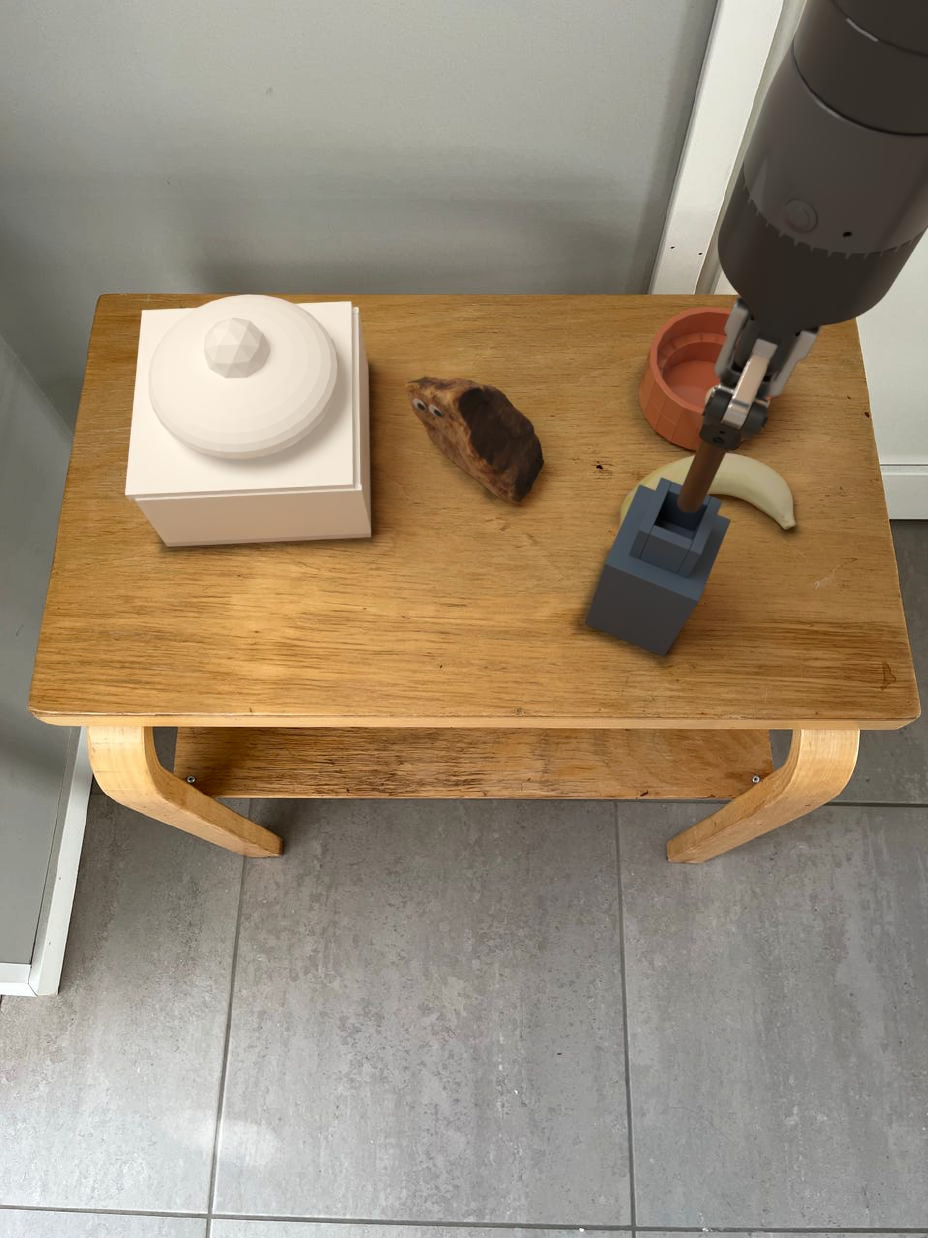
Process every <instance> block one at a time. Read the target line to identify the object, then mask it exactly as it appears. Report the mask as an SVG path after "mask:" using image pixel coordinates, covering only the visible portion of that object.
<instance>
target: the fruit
mask: <svg viewBox="0 0 928 1238" xmlns="http://www.w3.org/2000/svg"><path fill="white" fill-rule="evenodd" d="M694 456H695V454H694V455H693V454H692V455H690V456H687V457H683V458H679V459H677V460H674V461H671V462H668V463H665V464H664V465H662V466H660V467H658V468H656V469H654V470H653V471H651V472H650V473H649V474H647V475H646V476H645V477H643V478H642V479H641V480H640V481H639V482H638V483H637V484H636V485H635V486H634V487H633V488H632V489H631V491H630V492H628V494H627V495H626V496H625V498H624V500H623V501H622V503H621V505H620V508H619V509H620V511H619V512H620V513H619V528H620V527H621V525H622V523H623V520H624V518H625V516H626V514H627V511H628V509H629V507H630V505H631V502H632V500H633V498H634V495H635V493H636V491H637V489H638V486H639V485H643V486H645V487H648V488H651V489H653V490H656V488H657V486H658V483H659V481H660V479H661V477H662V478H665V479H667V480H670V481H672V482H675V483H678V484H680V485H683V483H684V481H685V478H686V476H687V474H688V471H689V469H690V466H691V464H692V461H693V459H694ZM707 495H727V496H730V497H733V498H738V499H740V500H743V501H745V502H747V503H750V504H751V505H753V506H754V507H756V508H757V509H759V510H760V511H762V512H763V513H765V514H766V515H768V516H769V517H771V518H772V519H773V520H775V521H776V522H777V523H778V524H779V525H780V526H781V528H783V530H789V529H790V528H793V527H795V526H796V521H795V516H794V501H793V500H794V499H793V495H792V492H791V489H790V487H789V485H788V483H787V481H786V480H785V479H784V478H783V476H781V474H779V473H778V472H777V471H775V470H774V469H773V468H772V467H770V466H768V465H767V464H765V463H763V462H761V461H759V460H757V459H754V458H752V457H749V456H745V455H741V454H737V453H733V452H732V453H731V452H726V454H725V456H724V458H723V461H722V463H721V465H720V467H719V469H718V471H717V473H716V476H715V478H714V480H713V482H712V484H711V486H710V489H709V491H708V493H707Z"/></svg>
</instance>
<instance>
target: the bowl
mask: <svg viewBox="0 0 928 1238" xmlns="http://www.w3.org/2000/svg"><path fill="white" fill-rule="evenodd" d="M731 311H732V309H731V308H727V307H717V306H700V307H696V308H690V309H686V310H683V311H682V312H680V313H678V314H676V315H674V316H671V317H669V319H668V320H667V321H666V322H665V323H664V324H662V326H661V327H660V328H659V329H658V330H657V331H656V333H655V336H654V337H653V340H652V342H651V344H650V346H649V350H648V353H647V357H646V360H645V363H644V366H643V370H642V374H641V377H640V379H639V387H638V402H639V405H640V408H641V411H642V414H643V417H644V418H645V419H646V421H647V422H648V423H649V425H650V427H652V428H653V430H654V431H655V432H656V433H658V434H659V435H660V436H662V437H663V438H665V439H666V440H667V441H669V442H671V443H672V444H674V445H677V446H680V447H682V448H685V449H688V450H692V451H697V449H698V447H699V444H700V442H701V438H700V437H699V432H700V430H701V428H702V425H703V424H702V421H703V419H704V416H702V413H703V411H704V409H705V396H706V394H707V392H708V391H709V390H710V389H711V388H712V387H713V386H716V385H718V383H719V381H720V380H719V378H718V377H717V376H716V375H715V374H714V371H713V369H714V367H715V364H716V362H717V359H718V357H719V354H720V352H721V350H722V347H723V345H724V342H725V340H726V337H727V335H726V333H725V331H724V328H725V325H726V323H727V321H728V318H729V316H730V313H731ZM773 399H774V397H768V398H767V400H769V401H770V403H769V405H768V407H769V406H770V404H771V403H772V401H773ZM744 441H746V440H745V439H742V440H741V442H744Z"/></svg>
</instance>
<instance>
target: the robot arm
mask: <svg viewBox="0 0 928 1238" xmlns="http://www.w3.org/2000/svg"><path fill="white" fill-rule="evenodd" d="M927 230H928V0H806V2H805V4H804V8H803V10H802V13H801V16H800V19H799V22H798V25H797V28H796V30H795V32H794V35H793V37H792V39H791V42H790V44H789V47H788V48H787V50H786V53H785V55H784V56H783V59H782V60H781V62H780V63H779V66H778V67H777V70H776V72H775V74H774V77H772V81H771V82H770V85H769V87H768V89H767V91H766V93H765V97H764V99H763V102H762V105H761V108H760V110H759V114H758V117H757V120H756V121H755V126H754V128H753V132H752V134H751V137H750V140H749V143H748V145H747V149H746V152H745V154H744V157H743V160H742V163H741V166H740V168H739V172H738V175H737V178H736V181H735V183H734V187H733V189H732V192H731V195H730V199H729V201H728V203H727V207H726V210H725V212H724V215H723V219H722V221H721V224H720V227H719V232H718V236H717V255H718V261H719V263H720V267H721V269H722V272H723V274H724V276H725V278H726V279H727V282H728V283H729V284H730V285H731V287H732V289H733V290H734V291H735V292H736V293H737V296H736V299H735V301H734V303H733V305H732V309H731V310H732V311H731V313H730V316H729V318H728V321H727V323H726V325H725V328H724V331H725V333H726V335H727V337H726V340H725V342H724V345H723V347H722V350H721V352H720V354H719V357H718V359H717V362H716V364H715V367H714V369H713V371H714V374H715V375H716V376H717V377H718V378H719V380H720V381H719V383H718V386H717V387H715V386H714V388H713V390H712V392H711V395H710V397H709V399H708V402H707V404H706V406H705V409H704V411H703V413H702V416H704V419H703V421H702V424H703V425H702V428H701V430H700V432H699V437H700V438H701V439H702V440H704V442H705V443H708V444H710V445H713V446H716V447H718V448H721V449H724V450H726V451H727V452H729V451H734V450H737V449H738V447H739V445H740V443H741V442H742V441H741V440H742V439H745V440H744V441H750V440H751V439H752V438H754V437H755V436H756V435H758V434H759V432H760V431H761V429H762V428H765V427H766V424H767V422H768V420H769V416H767V415H768V412H769V409H770V408H769V406H770V404H771V402H770V401H769V400H767V398H768V397H773V398H774V397H778V396H780V395H781V394H782V392H783V390H784V389H785V387H786V385H787V383H788V381H789V380H790V379H791V378H790V377H791V376H792V373H793V372H794V370H795V368H796V366H797V364H798V363H799V362H801V361H804V360H805V359H807V358H808V356H809V355H810V352H811V351H812V350H813V347H814V345H815V343H816V341H817V339H818V337H819V335H820V332H821V331H822V327H823V326H831V325H837V324H840V323H844V322H848V321H851V320H853V319H856V318H859V317H860V316H862V315H864V314H866V313H867V312H869V311H870V310H872V309H873V308H874V307H875V306H877V305H878V304H879V303H880V302H881V301H882V300H883V299H884V297H885V296H886V295H887V294H888V292H889V291H890V290H891V289H892V286H893V285H894V283H895V281H896V280H897V278H898V276H899V275H900V274H901V272H902V270H903V269H904V267H905V265H906V264H907V262H908V260H910V257H911V256H912V254H913V252H914V251H915V249H916V248H917V246H918V244H919V243H920V241H921V240H922V238H923V236H925V233H926V231H927ZM730 383H737V385H736V386H734V385H731V384H730ZM728 384H729V385H728ZM712 396H713V397H712ZM769 403H770V404H769ZM768 405H769V406H768Z"/></svg>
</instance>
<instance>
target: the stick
mask: <svg viewBox="0 0 928 1238" xmlns="http://www.w3.org/2000/svg"><path fill="white" fill-rule="evenodd" d="M730 384H731V385H734V386H736V385H737V383H730ZM728 385H729V384H728ZM726 453H728V451H726V450H724V449H721V448H718V447H716V446H713V445H710V444H708V443H705V442H704V440H702V439H701V442H700V444H699V447H698V449H697V450H695V454H694V455H695V456H694V459H693V461H692V464H691V466H690V469H689V471H688V474H687V476H686V478H685V481H684V483H683V486H682V488H681V491H680V493H679V496H678V498H677V505H678V507H679V508H680V509H681V510H682V511H683V512H686V513H695V512H697V511H698V510H699V509H700V508H701V506H702V504H703V501H704V499H705V497H706V495H707V493H708V491H709V489H710V486H711V484H712V482H713V480H714V478H715V476H716V473H717V471H718V469H719V467H720V465H721V463H722V461H723V458H724V456H725V454H726Z"/></svg>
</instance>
